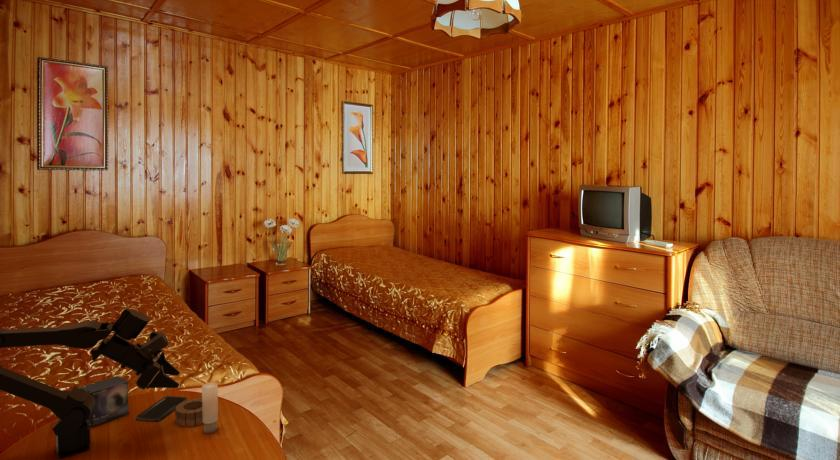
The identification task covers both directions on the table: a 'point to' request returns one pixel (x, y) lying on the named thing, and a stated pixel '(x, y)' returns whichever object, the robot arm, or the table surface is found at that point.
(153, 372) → the robot arm
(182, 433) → the table surface
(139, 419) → the phone
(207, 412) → the tapered rounded pillar
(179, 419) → the segmented block ring
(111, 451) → the table surface
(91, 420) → the small box
